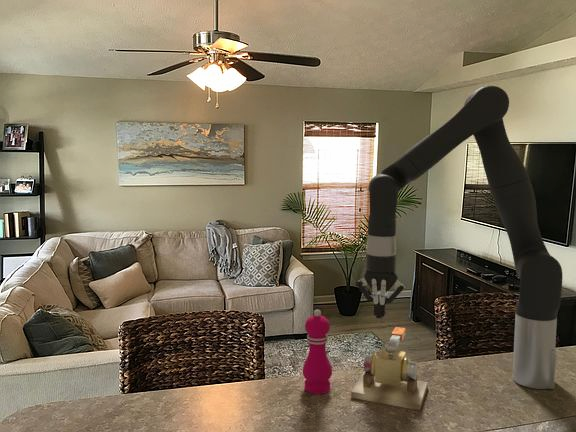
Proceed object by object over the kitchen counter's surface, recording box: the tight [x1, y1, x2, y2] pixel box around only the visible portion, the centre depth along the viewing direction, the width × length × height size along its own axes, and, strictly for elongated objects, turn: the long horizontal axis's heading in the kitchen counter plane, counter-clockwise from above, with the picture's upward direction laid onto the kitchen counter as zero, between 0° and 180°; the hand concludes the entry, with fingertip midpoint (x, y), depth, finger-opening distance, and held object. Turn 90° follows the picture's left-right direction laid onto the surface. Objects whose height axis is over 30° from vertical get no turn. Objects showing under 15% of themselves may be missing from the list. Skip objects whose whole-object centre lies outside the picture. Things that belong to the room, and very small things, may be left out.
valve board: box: [350, 371, 428, 411], centre depth 120 cm, size 16×12×4 cm
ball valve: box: [363, 347, 418, 386], centre depth 120 cm, size 12×6×7 cm, turn 67°
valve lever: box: [384, 326, 406, 353], centre depth 124 cm, size 3×14×2 cm, turn 157°
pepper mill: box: [302, 309, 333, 395], centre depth 122 cm, size 7×7×20 cm
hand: (379, 317), depth 130 cm, fingers closed
